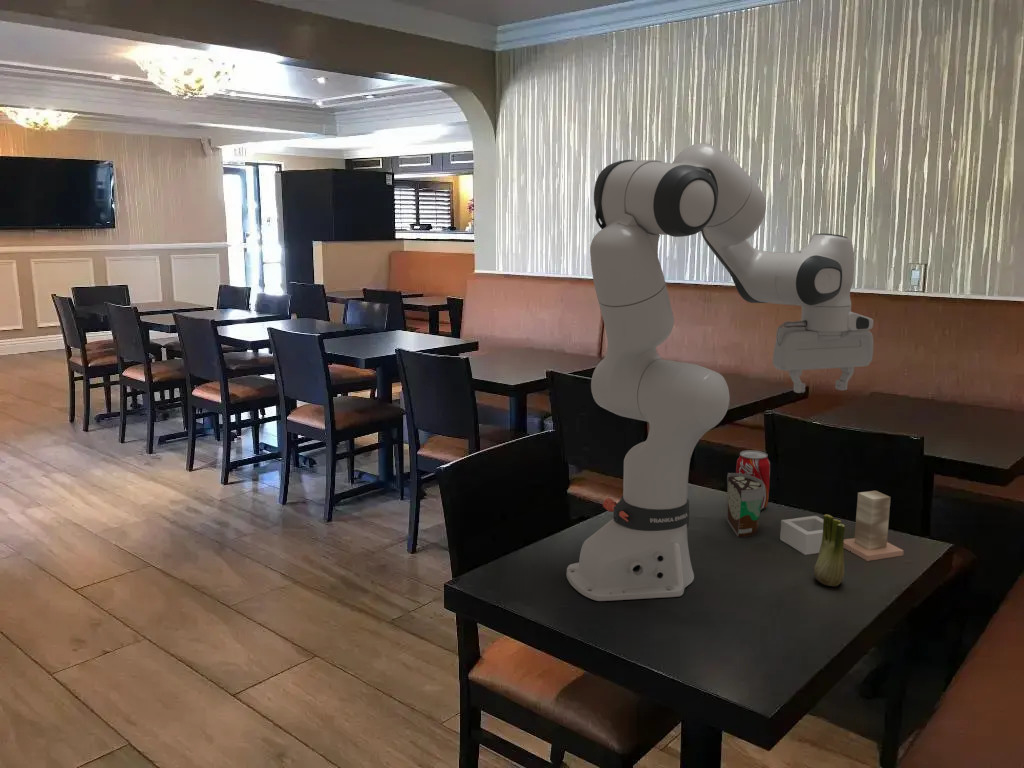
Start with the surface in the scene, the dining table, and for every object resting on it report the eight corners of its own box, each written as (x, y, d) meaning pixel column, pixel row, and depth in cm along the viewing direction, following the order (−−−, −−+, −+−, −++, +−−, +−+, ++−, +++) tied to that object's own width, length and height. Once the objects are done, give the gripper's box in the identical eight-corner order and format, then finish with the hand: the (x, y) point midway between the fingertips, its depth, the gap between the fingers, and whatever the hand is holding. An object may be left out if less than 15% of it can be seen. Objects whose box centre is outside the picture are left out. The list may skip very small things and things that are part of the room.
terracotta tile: (867, 561, 157) (867, 555, 157) (838, 545, 164) (839, 540, 164) (903, 555, 159) (903, 550, 159) (873, 539, 167) (873, 535, 167)
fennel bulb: (844, 591, 145) (849, 524, 142) (813, 588, 146) (818, 522, 144) (842, 577, 150) (846, 513, 148) (812, 574, 152) (816, 510, 149)
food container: (771, 539, 167) (774, 491, 165) (740, 540, 168) (742, 491, 166) (754, 517, 180) (756, 471, 178) (725, 517, 180) (727, 472, 178)
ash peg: (868, 550, 159) (872, 499, 157) (854, 542, 163) (858, 492, 161) (886, 547, 160) (890, 497, 158) (871, 540, 164) (875, 490, 162)
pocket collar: (805, 554, 160) (806, 534, 159) (780, 539, 167) (781, 520, 167) (841, 549, 162) (842, 529, 161) (814, 534, 170) (816, 515, 169)
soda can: (771, 512, 182) (774, 458, 180) (738, 512, 182) (741, 458, 180) (763, 501, 189) (765, 449, 187) (731, 501, 189) (733, 449, 187)
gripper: (787, 323, 157) (782, 397, 160) (881, 320, 163) (875, 391, 165) (768, 319, 163) (764, 390, 166) (859, 316, 169) (853, 385, 171)
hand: (820, 390), depth 165 cm, fingers open, 8 cm apart
